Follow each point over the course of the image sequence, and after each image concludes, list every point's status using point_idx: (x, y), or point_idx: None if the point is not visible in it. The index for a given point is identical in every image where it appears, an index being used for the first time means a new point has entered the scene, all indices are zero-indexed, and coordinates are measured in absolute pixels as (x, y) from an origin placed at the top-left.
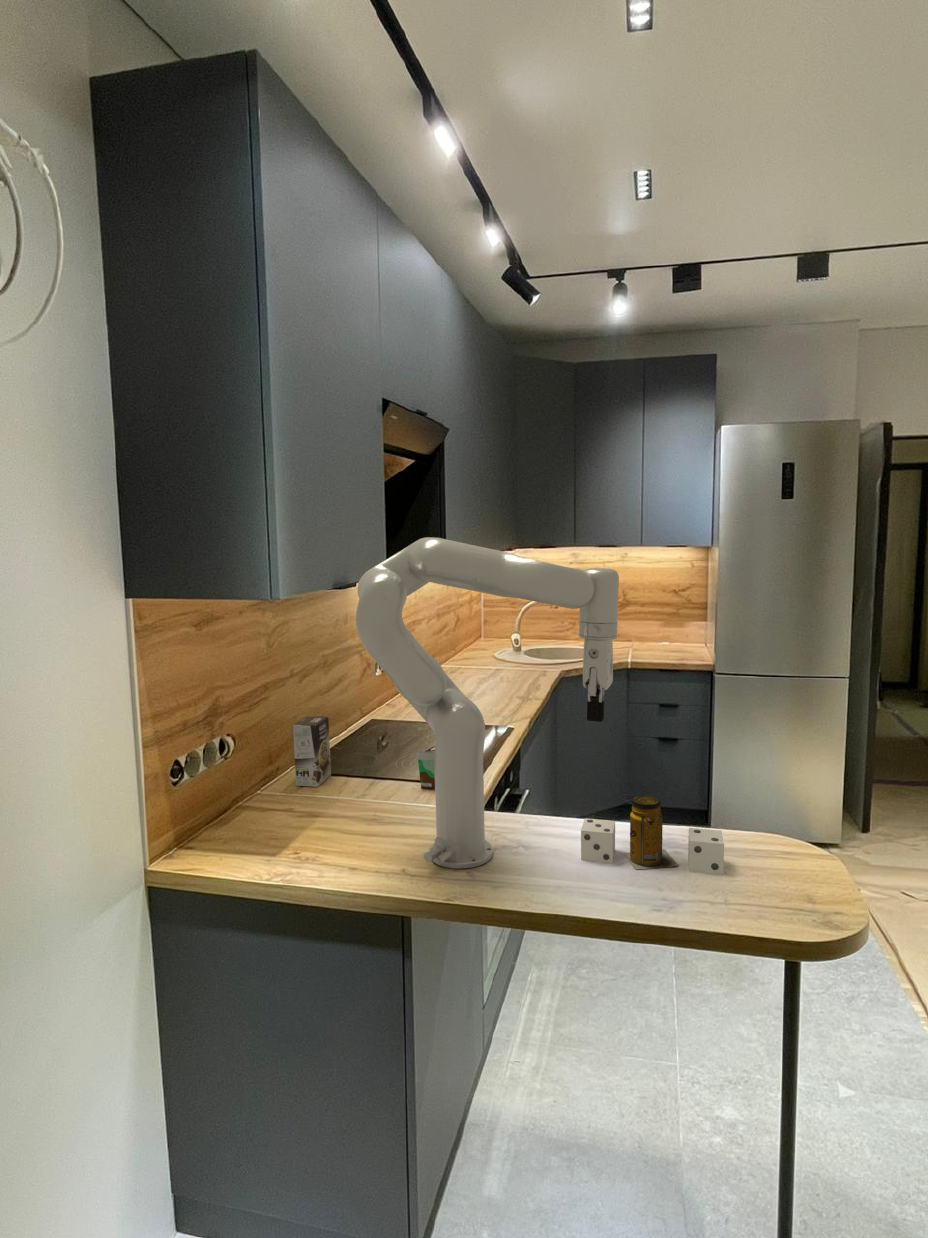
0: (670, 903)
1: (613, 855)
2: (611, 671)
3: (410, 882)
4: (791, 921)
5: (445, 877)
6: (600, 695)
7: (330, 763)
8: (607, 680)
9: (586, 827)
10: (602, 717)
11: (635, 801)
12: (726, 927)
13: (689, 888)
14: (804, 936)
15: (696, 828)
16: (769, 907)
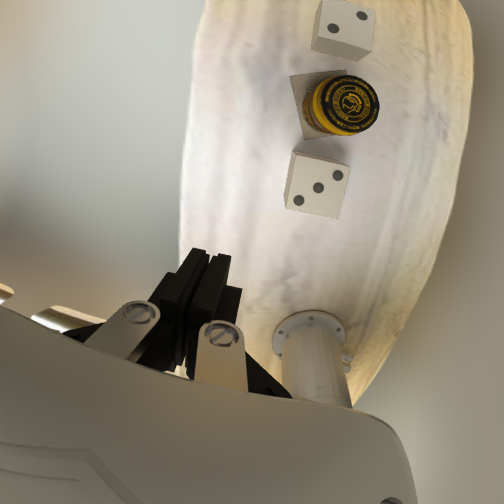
0: (433, 114)
1: (323, 157)
2: (26, 475)
3: (360, 364)
4: (446, 16)
5: (356, 343)
6: (244, 373)
7: None
8: (389, 490)
9: (325, 208)
10: (228, 264)
11: (359, 127)
12: (466, 79)
13: (401, 78)
14: (465, 23)
15: (319, 25)
16: (426, 18)
